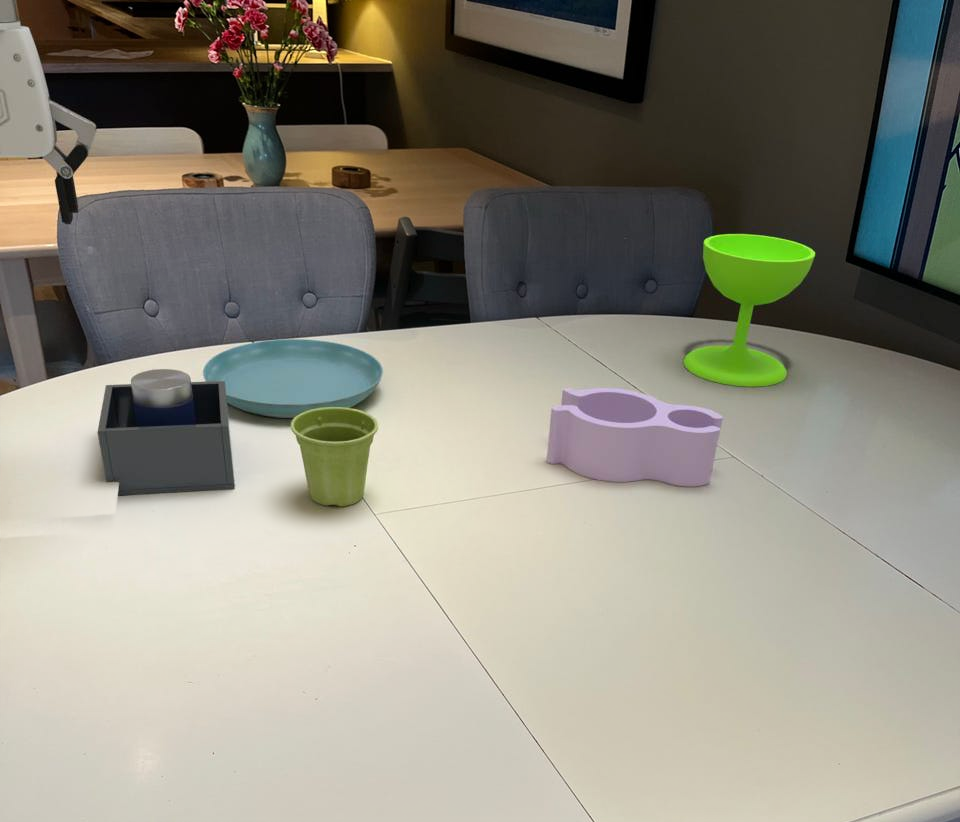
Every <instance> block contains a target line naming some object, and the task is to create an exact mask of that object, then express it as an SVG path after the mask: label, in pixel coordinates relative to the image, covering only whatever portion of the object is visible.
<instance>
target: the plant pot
mask: <svg viewBox="0 0 960 822" xmlns="http://www.w3.org/2000/svg"><path fill="white" fill-rule="evenodd" d="M290 429H291V431H292V433H293V434H294V436H295V438H296V442H297V444H298V445H299V448H300V454H301V459H302V464H303V468H304V469H303V470H304V473H305V479H306V483H307V489H308V495H309V497H310V499H311V500H312V501H313V502H315V503H316V504H319V505H322V506H326V507H327V506H330V505H333V506H338V507H347V506H348V507H349V506H352V505H354V504H356V503H358V502H359V501H361V500H362V499H363V496H364V494H365V487H366V480H367V472H368V465H369V457H370V450H371V445H372V444H373V442H374V437H375V435H376V434H377V432H378V429H379V422H378V420H377V419H376V418H375V417H374V416H373V415H372V414H371V413H368V412H366V411H364V410H360V409H356V408H352V407H350V408H343V407H325V408H317V409H312V410H309V411H306V412H303V413H301V414H299V415H298V416H296V417H295V418H292V420H291V422H290Z"/></svg>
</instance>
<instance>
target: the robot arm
mask: <svg viewBox="0 0 960 822" xmlns="http://www.w3.org/2000/svg"><path fill="white" fill-rule="evenodd" d="M38 52H39V51H38V50H37V46H36V44H35V41H34V38H33V35H32V33H31V30H30V28H29V26H24V25H21V21H20V13H19V9H18V3H17V0H0V158H1V159H2V158H5V159H7V158H8V159H16V158H17V159H34V158H41V157H42V159H43V160H44V161H46V163H47V164H48V165H50V166H51V167H52V169H53V170H54V171H55V172H56V177H55V179H54V185H55V191H56V196H57V202H58V207H59V213H60V218H61V223H62V224H64V225H72V222H73V219H74V214H78V213H79V203H78V198H77V190H76V185H75V179H74V174H75V173H76V171H77V170H78V169H79V168H80V167H81V166H82V164H83V163H85V160H86V159H87V158H88V156H89V153H90V150H91V148H92V145H93V141H94V139H95V136H96V133H97V128H98V127H97V125H96V124H95V122H93V121H91V120H90V119H87V118H86V117H83V116H82V115H80V114H78V113H76V112H74V111H72V110H70V109H69V108H66V107H65V106H63V105H61V104H59V103H57V102H55V101H53V100H51V97H50V93H49V88H48V85H47V81H46V76H45V73H44V69H43V65H42V62H41V59H40V56H39V53H38ZM56 122H57V123H59V124H61V125H63V126H65V127H67V128H69V129H71V130H72V131H74V132H75V133H76V135H77V140H76V143H75V146H74V147H73V149H72V150H71V151H70V152H69V154H68V155H67V153H65V152H64V151H63V150H62V149H61V147H60V146H59V145H57V141H58V133H57V125H56Z"/></svg>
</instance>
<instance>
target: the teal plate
mask: <svg viewBox="0 0 960 822" xmlns="http://www.w3.org/2000/svg"><path fill="white" fill-rule="evenodd" d="M383 375H384V369H383V366H382V363H380V361H379V360H378V359H376V358H375V357H374V356H373V355H372V354H370V353H368V352H366V351H364V350H362V349H359V348H357V347H354V346H350V345H346V344H342V343H338V342H332V341H326V340H317V339H304V338H303V339H302V338H301V339H300V338H285V339H284V338H282V339H271V340H263V341H256V342H250V343H246V344H240V345H238V346H234V347H231V348H229V349H226V350H224V351H221V352H220V353H219V352H218V354H216V355H214V356H213V357H211V358H210V359H209V360H208V361H207V362H206V363H205V365H204V367H203V370H202V376H203V378H204V381H205V382H207V381H225V385H226V395H227V404H229V405H231V406H232V407H235V408H237V409H238V410H242V411H243V412H248V413H251V414H254V415H258V416H263V417H270V418H279V419H294V418H295V417H296V416H298V415H299V414H301V413H303V412H306V411H309V410H312V409H317V408H325V407H343V408H353V407H354V406H356V405H358V404H359V403H361V402H362V401H364V400H365V399H366V398H368V397H369V396H370V395H371V394H372V393H373V392H374V391H375V389H376V388H377V387H378V385H379V384H380V382H381V380H382V377H383Z"/></svg>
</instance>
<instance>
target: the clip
mask: <svg viewBox="0 0 960 822" xmlns="http://www.w3.org/2000/svg"><path fill="white" fill-rule="evenodd" d="M561 393H562V394H561V403H560V405H554V406H551V410H550V411H551V412H550V419H549V420H550V421H549V429H548V442H547V452H546V461H545V462H546V463H548V464H550V465H555V464H562V465H564V467H566V468H567V469H569V470H570V471H572V472H574V473H576V474H578V475H580V476H583V477H586V478H590V479H591V480H598V481H603V482H612V483H613V482H615V483H627V482H636V481H642V480H643V481H644V480H652V481H659V482H663V483H665V484H669V485H673V486H678V487H687V488H688V487H690V488H692V487H693V488H694V487H703V486H706V485H708V484H710V483H711V476H712V471H713V469H714V468H713V467H714V463H715V459H716V453H717V448H718V443H719V438H720V432H721V428H722V423H723V418H724V417H723V415H721V414H719V413H718V412H716V411H713V410H711V409H709V408H705V407H701V406H695V405H688V404H687V405H686V404H674V403H673V404H671V403H667V402H664V401H661V400H659V399H657V398H655V397H653V396H651V395H649V394H646V393H642V392H639V391H635V390H630V389H623V388H614V387H613V388H612V387H597V388H587V389H583V390H576V389H575V388H572V387H564V388H562V392H561Z"/></svg>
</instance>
